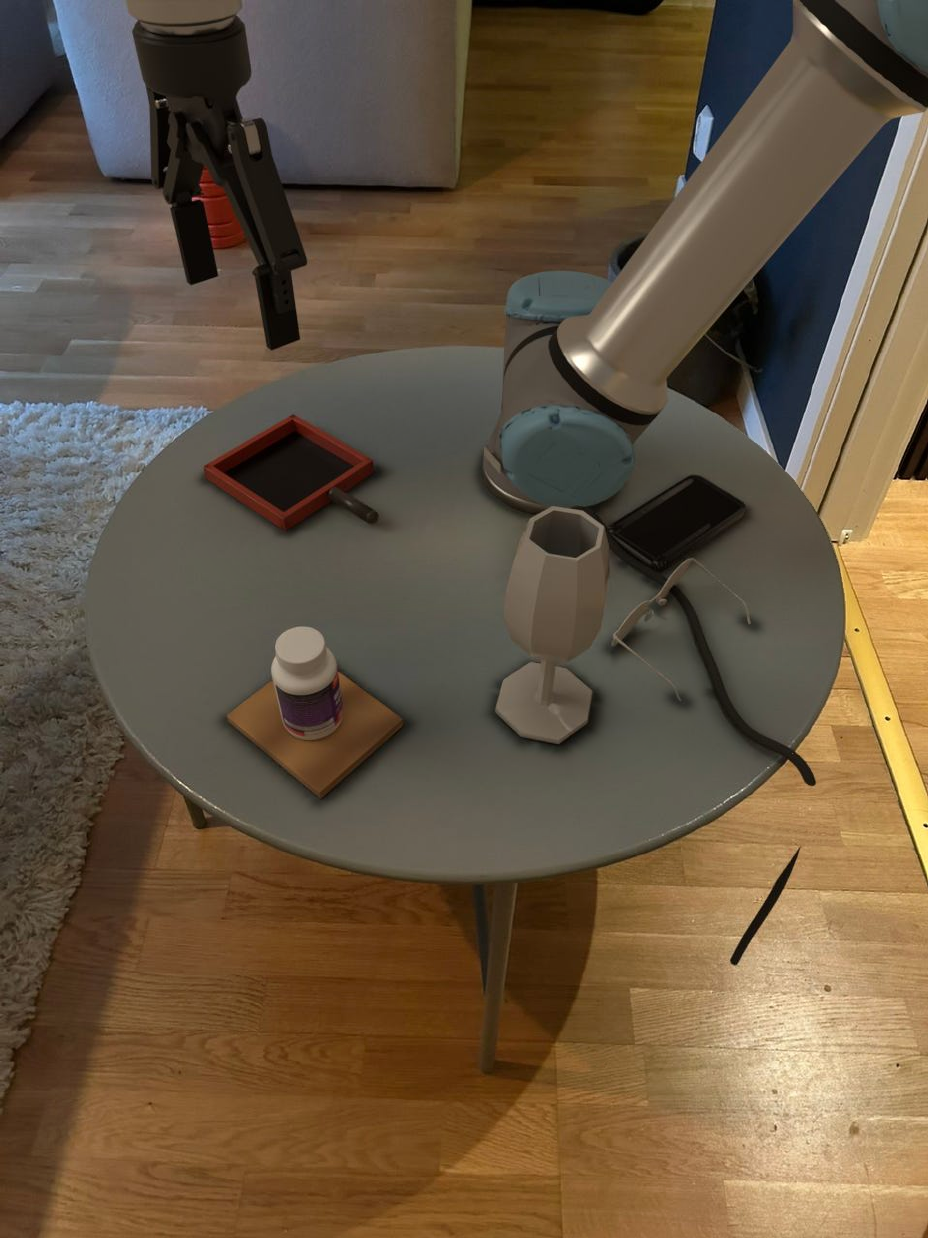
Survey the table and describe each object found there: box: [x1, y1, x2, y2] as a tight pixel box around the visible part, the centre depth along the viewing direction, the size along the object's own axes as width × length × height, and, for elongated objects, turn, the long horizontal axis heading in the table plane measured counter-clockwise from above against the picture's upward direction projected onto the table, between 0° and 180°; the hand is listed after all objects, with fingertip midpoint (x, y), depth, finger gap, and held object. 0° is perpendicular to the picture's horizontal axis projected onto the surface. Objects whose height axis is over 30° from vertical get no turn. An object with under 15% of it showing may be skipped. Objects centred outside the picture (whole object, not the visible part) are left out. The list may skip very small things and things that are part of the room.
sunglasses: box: [611, 557, 752, 702], centre depth 86 cm, size 14×8×5 cm, turn 139°
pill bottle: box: [270, 626, 343, 740], centre depth 76 cm, size 5×5×10 cm
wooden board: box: [226, 671, 404, 799], centre depth 80 cm, size 12×10×1 cm
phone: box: [607, 474, 746, 573], centre depth 98 cm, size 8×1×15 cm
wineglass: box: [494, 506, 611, 745], centre depth 74 cm, size 9×9×21 cm
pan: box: [202, 413, 380, 532], centre depth 102 cm, size 21×14×2 cm, turn 49°
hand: (241, 310), depth 77 cm, fingers open, 13 cm apart
